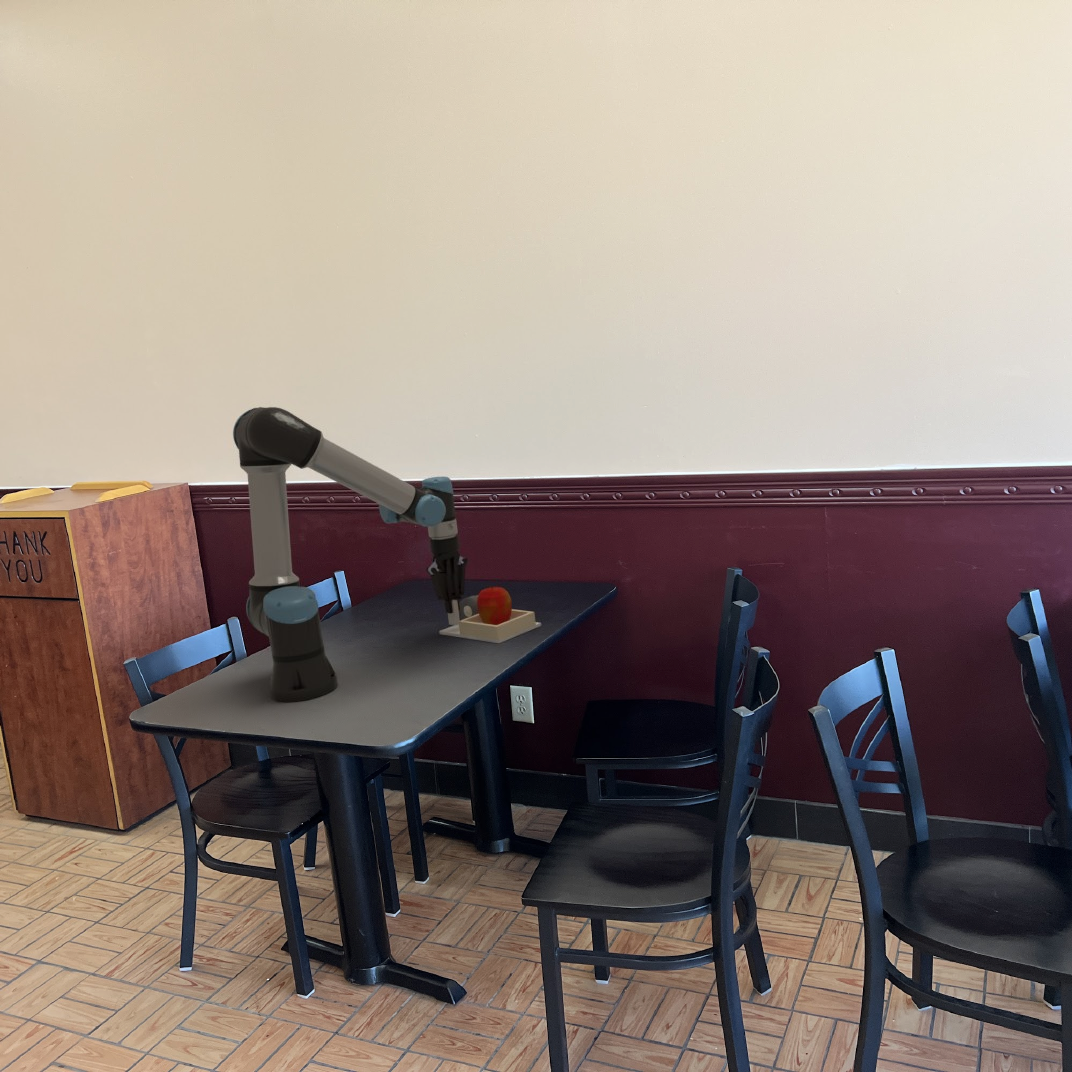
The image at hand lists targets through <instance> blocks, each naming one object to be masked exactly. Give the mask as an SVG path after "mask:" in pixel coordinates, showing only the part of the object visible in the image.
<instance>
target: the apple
mask: <svg viewBox="0 0 1072 1072" xmlns="http://www.w3.org/2000/svg"><path fill="white" fill-rule="evenodd" d="M512 605H513V604H512V598H511V596H510V594H509V592H508V591H507V590H506V589H505V588H503V587H502V586H501V587H499V586H493V585H492V584H491V585H490V587H487V588H484V589H481V591H480V592H479V593H478V598H477V607H478V611H479V615H480V617H481V620H482V622H483V623H484V624H491V625H499V624H501V623H504V622H507V621H509V620H510V616H511V612H512V609H513V607H512Z"/></svg>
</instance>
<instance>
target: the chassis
mask: <svg viewBox="0 0 1072 1072" xmlns="http://www.w3.org/2000/svg"><path fill="white" fill-rule="evenodd" d="M478 595H479V594H478ZM478 595H476V596H477V597H478ZM535 615H536V613H535V611H530V610H529V611H528V610H521V609H513V608H512V612H511V616H510V620H509V621H507V622H504V623H501V624H499V625H491V624H484V623H483V622H482V620H481V617H480V615H479V614H477V615H474V616H471V617H469V618H466V619H461V620H460V621H458V623H459V624H458V625H452V626H449V627H446V628H444V629H440V630H439V632H438V633H439V635H443V636H450V637H457V638H463V639H469V640H476V641H482V642H488V643H494V644H495V643H496V644H500V643H504V642H506V641H508V640H511V639H513V638H515V637H517V636H520V635H522V634H525V633H528V632H529V631H532V630H534V629H537V628H539V627H541V626H542V623H541V622H536V616H535Z"/></svg>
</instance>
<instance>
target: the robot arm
mask: <svg viewBox="0 0 1072 1072" xmlns="http://www.w3.org/2000/svg"><path fill="white" fill-rule="evenodd" d="M232 437H233V441H234V444H235V446H236V448H237V449H238V457H239V458H238V459H239V466H240V468H241V469H242V470H243V472H245V473H246V474H247V483H248V485H247V486H248V497H249V512H250V513H249V514H250V524H251V525H250V527H251V538H252V541H251V542H252V551H253V566H254V576H252V578H250V580H249V581H248V587H249V588H248V589H249V590H248V591H249V595H248V598H247V601H246V606H245V608H246V609H245V610H246V611H245V612H246V616H247V618H248V620H249V622H250V623H251V625H252V626H253V628H254V629H255V630H257V631H259V632H260V633H261V634H264V635H265V636H267V637H268V638H269V644H270V652H271V656H272V664H273V665H272V669H271V670H272V671H271V676H270V682H269V692H270V698H271V699H272V700H274V701H277V702H284V703H285V702H288V703H289V702H299V701H300V702H301V701H306V700H311V699H314V698H318V697H321V696H323V695H326V694H329V693H330V692H332V691H334V690H335V689H337V687H338V684H339V683H338V678H337V674H336V671H335V670H334V668H333V666H332V664H331V662H330V660H329V658H328V656H327V654H326V652H325V644H324V639H323V633H322V625H321V619H320V613H319V603H318V600H317V597H316V593H315V592H314V591H313V590H312V589H311V588H309V587H305V586H300V585H301V583H300V578H299V576H297V575H296V574H295V573H294V572H293V564H292V550H291V535H290V522H289V509H288V507H289V506H288V495H287V493H288V492H287V491H288V489H287V478H286V472H287V470H288V469H289V468H290V467H291V466H292V465H293V466H295V467H297V468H299V469H303V470H304V469H307V468H309V469H311V470H313V471H314V472H316V473H318V474H321V475H323V476H324V477H326V478H328V479H330V480H332V481H334V482H336V483H337V484H340V485H342V486H344V487H346V488H348V489H349V490H351V491H353V492H355V493H357V494H358V495H359V494H360V496H363V497H365V498H367V499H369V500H371V501H373V502H375V503H377V504H378V507H379V509H378V510H379V514H380V517H381V519H382V521H383V522H384V523H385V524H388V525H389V524H398V523H401V522H405V523H409V524H414V525H418V526H422V527H423V528H425V527H427V532H428V537H429V538H430V539H429V545H430V547H429V548H430V552H431V553H432V556H433V557H432V563H431V565H430V566H427V567H426V569H425V570H426V572H427V573H428V575H429V577H430V580H431V583H432V585H433V589H434V591H435V595H436V597H437V600H438V601H442V602H444V607H445V613H446V614H447V618H448V619H447V620H448V625H452V626H454V625H458V624H459V623H458V621H461V620H460V612H459V610H460V606H459V604H460V600H462V599H463V598H462V596H464V595H465V587H466V586H465V583H466V568H467V564H468V558H467V557H462V556H461V554H460V551H459V550H460V539H459V536H458V533H459V532H458V525H457V524H458V523H457V516H456V508H455V498H454V496H455V495H454V489H453V484H452V480H451V478H450V477H448V476H433V477H432V476H431V477H428V478H424V479H423V480H422V481H421V482H422V483H421V484H422V485H421V487H419V488H418V487H417V488H416V487H415V486H413V485H412V484H410V483H408V482H406V481H404V480H403V479H400V478H399V477H398V476H396V475H393V474H392V473H390V472H387V471H386V470H384V469H382V468H380V467H379V466H377V465H375V464H373V463H372V462H369V461H367V460H366V459H363V458H362V457H360V456H358V455H356V454H355V453H352V452H351V451H349V450H347V449H345V448H344V447H342V446H339V445H337V444H336V443H334V442H332V441H330V440H329V439H327V438H325V437H324V435H323V432H322V431H321V430H320V429H317V428H316V427H314V426H312V425H311V424H310V423H307V422H306V421H304V420H303V419H301V418H300V417H298V416H297V415H295V414H293V413H292V412H290V411H289V410H286V409H284V408H281V407H277V406H275V407H274V406H269V407H261V406H259V407H253V408H250V409H248V410H247V411H245V412H243V413H242V414H241V415H240V416H239V417H238V418H237V419H236V421H235V423H234V426H233V430H232Z"/></svg>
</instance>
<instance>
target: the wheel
mask: <svg viewBox="0 0 1072 1072" xmlns="http://www.w3.org/2000/svg"><path fill="white" fill-rule="evenodd" d="M477 598H478V597H477V595H470V596H467V597H464V598H462V599H460V601H459V606H460V610H459V616H461V620H463V619H466V618H469V617H471V616H474V615H477V614H479V611H478V607H477Z"/></svg>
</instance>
